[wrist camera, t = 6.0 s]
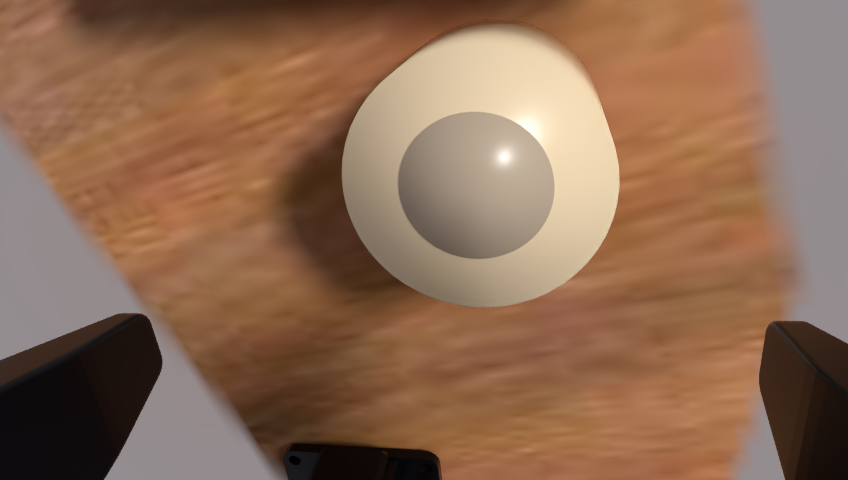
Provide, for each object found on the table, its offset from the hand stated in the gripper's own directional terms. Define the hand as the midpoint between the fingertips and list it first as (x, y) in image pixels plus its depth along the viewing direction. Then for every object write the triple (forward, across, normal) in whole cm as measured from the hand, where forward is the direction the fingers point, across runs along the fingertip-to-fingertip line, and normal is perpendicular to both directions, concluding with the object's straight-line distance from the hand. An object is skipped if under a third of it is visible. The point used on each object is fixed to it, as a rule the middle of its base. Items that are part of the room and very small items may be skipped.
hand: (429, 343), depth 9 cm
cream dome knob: (+11, 0, 0) cm, 11 cm away
